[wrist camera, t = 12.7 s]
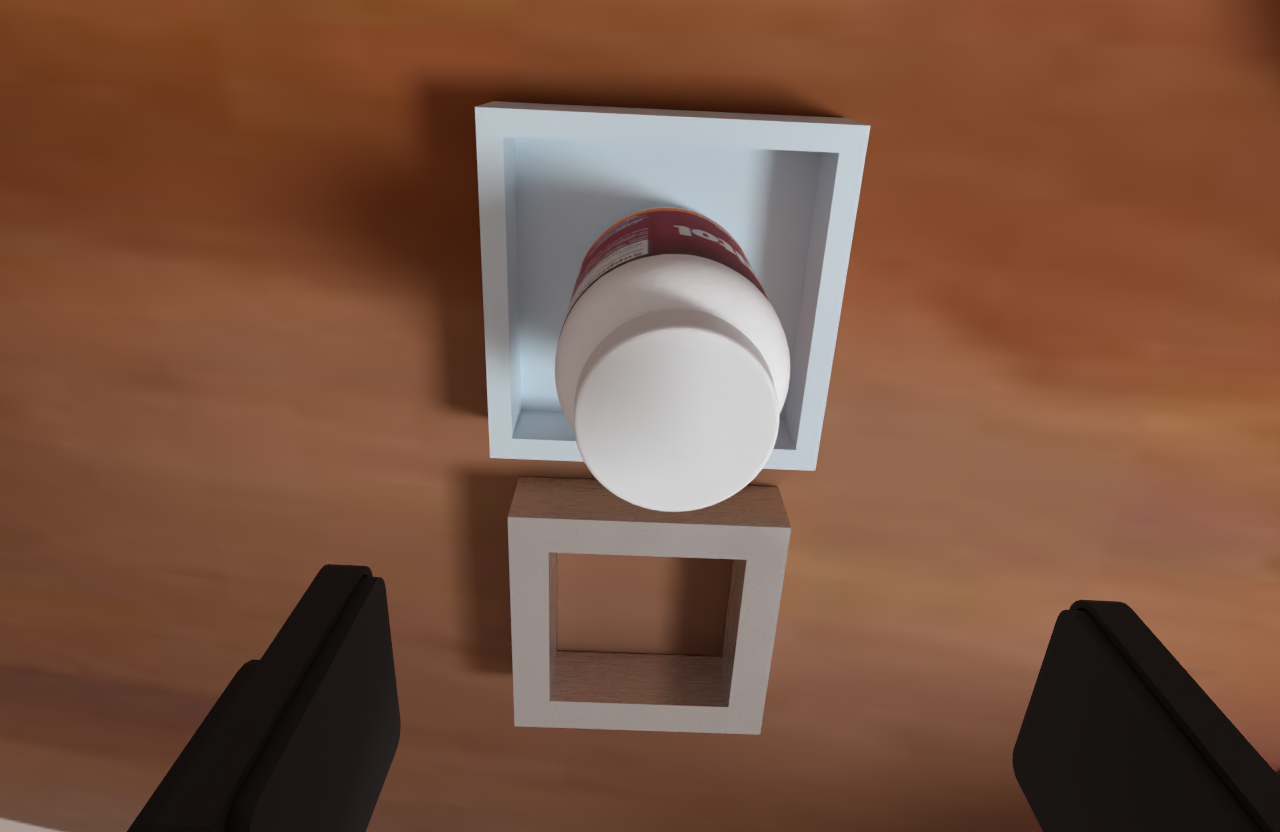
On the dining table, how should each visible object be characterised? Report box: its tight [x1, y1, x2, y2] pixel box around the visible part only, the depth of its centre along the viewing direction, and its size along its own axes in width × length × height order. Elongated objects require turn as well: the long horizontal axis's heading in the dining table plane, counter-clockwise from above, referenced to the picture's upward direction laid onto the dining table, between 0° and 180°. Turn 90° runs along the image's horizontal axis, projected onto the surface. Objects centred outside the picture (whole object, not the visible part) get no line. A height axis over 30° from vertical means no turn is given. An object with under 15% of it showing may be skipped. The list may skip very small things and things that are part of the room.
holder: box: [508, 477, 791, 735], centre depth 32 cm, size 10×10×3 cm
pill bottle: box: [555, 207, 790, 512], centre depth 22 cm, size 6×6×11 cm
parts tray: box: [475, 101, 870, 471], centre depth 26 cm, size 12×12×3 cm
